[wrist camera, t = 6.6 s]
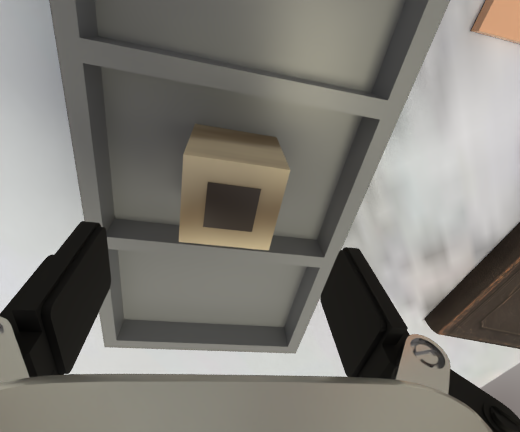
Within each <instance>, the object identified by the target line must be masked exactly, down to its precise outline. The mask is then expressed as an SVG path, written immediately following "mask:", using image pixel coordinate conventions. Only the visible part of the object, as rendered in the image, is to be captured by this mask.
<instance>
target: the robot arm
mask: <svg viewBox="0 0 520 432" xmlns="http://www.w3.org/2000/svg"><path fill="white" fill-rule="evenodd" d="M110 286H111V272H110V262H109V253H108V243H107V234H106V228H105V227H101V225H100V223H96V222H86V221H82V222H80V223H79V225H78V226H77V227H76V228H75V230H74V231H73V232H72V234H71V235H70V236H69V237H68V239H67V240H66V241H65V242H64V244H63V245H62V246H61V247H60V249H59V250H58V251H57V252H56V254H55V255H50V256H48V257H47V258H46V259H45V260H44V261H43V262H42V264H41V265H40V266H39V267H38V268H37V270H36V271H35V272H34V273H33V275H32V276H31V277H30V278H29V279H28V281H27V282H26V283H25V284H24V285H23V287H22V288H21V289H20V290H19V292H18V293H17V294H16V295H15V296H14V298H13V299H12V300H11V301H10V302H9V304H8V305H7V306H6V307H5V309H4V310H3V311H2V312H1V313H0V432H520V419H519V418H518V417H517V416H516V415H515V414H514V413H513V412H512V411H511V410H510V409H509V408H507V407H506V406H505V405H503V404H502V403H501V402H499V401H498V400H496V399H495V398H493V397H492V396H490V395H489V394H487V393H486V392H484V391H483V390H481V389H480V388H478V387H477V386H475V385H474V384H472V383H471V382H469V381H468V380H466V379H465V378H463V377H462V376H460V375H459V374H457V373H455V372H454V371H452V370H451V369H450V361H449V358H448V356H447V354H446V353H445V352H444V350H443V349H442V348H441V347H440V346H439V345H438V344H437V343H435V342H434V341H432V340H431V339H429V338H427V337H425V336H422V335H418V334H412V335H409V333H408V331H407V329H408V328H407V326H406V324H405V323H404V321H403V320H402V318H401V316H400V315H399V313H398V311H397V310H396V308H395V307H394V305H393V303H392V302H391V300H390V298H389V297H388V295H387V293H386V292H385V290H384V289H383V287H382V285H381V284H380V282H379V280H378V279H377V277H376V275H375V274H374V272H373V271H372V269H371V267H370V266H369V264H368V262H367V261H366V259H365V257H364V256H363V254H362V253H361V251H360V250H359V249H357V248H347V247H345V248H344V249H343V250H340V251H339V253H338V255H337V257H336V260H335V262H334V264H333V267H332V269H331V272H330V274H329V276H328V279H327V281H326V283H325V286H324V288H323V291H322V293H321V304H322V307H323V310H324V312H325V315H326V318H327V321H328V324H329V327H330V330H331V333H332V336H333V338H334V341H335V344H336V347H337V350H338V353H339V356H340V359H341V362H342V364H343V367H344V370H345V373H346V375H347V376H348V377H327V376H272V375H195V374H69V375H64V374H68V373H70V371H71V370H72V368H73V366H74V364H75V361H76V359H77V357H78V355H79V353H80V351H81V349H82V347H83V344H84V342H85V340H86V338H87V336H88V334H89V332H90V330H91V327H92V325H93V323H94V321H95V319H96V317H97V315H98V313H99V310H100V308H101V306H102V304H103V302H104V300H105V298H106V296H107V293H108V291H109V289H110Z"/></svg>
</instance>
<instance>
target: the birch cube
mask: <svg viewBox="0 0 520 432" xmlns="http://www.w3.org/2000/svg"><path fill="white" fill-rule="evenodd" d="M289 173H290V168H289V166H288V163H287V161H286V159H285V156H284V154H283V151H282V149H281V147H280V144H279V142H278V139H277V137H272V136H266V135H260V134H254V133H248V132H242V131H236V130H230V129H224V128H218V127H212V126H206V125H200V124H195V125H194V128H193V130H192V133H191V135H190V138H189V141H188V143H187V146H186V148H185V151H184V154H183V169H182V188H181V207H180V226H179V242H186V243H196V244H206V245H217V246H227V247H238V248H248V249H258V250H269V248H270V245H271V241H272V237H273V233H274V230H275V226H276V222H277V218H278V215H279V211H280V207H281V203H282V200H283V196H284V192H285V188H286V185H287V181H288V177H289Z"/></svg>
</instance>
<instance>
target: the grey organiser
mask: <svg viewBox="0 0 520 432" xmlns="http://www.w3.org/2000/svg"><path fill="white" fill-rule="evenodd" d="M49 2H50V8H51V14H52V20H53V27H54V33H55V39H56V45H57V52H58V58H59V64H60V70H61V77H62V83H63V89H64V95H65V102H66V108H67V114H68V120H69V127H70V133H71V139H72V145H73V152H74V158H75V164H76V170H77V177H78V183H79V189H80V195H81V202H82V208H83V214H84V220H85V221H86V222H96V223H100V225H101V227H105V228H106V234H107V243H108V253H109V262H110V272H111V286H110V289H109V291H108V293H107V296H106V298H105V300H104V302H103V304H102V306H101V308H100V310H99V314H100V321H101V327H102V333H103V339H104V346H105V347H117V348H147V349H178V350H208V351H238V352H269V353H296V351H297V349H298V347H299V344H300V342H301V340H302V337H303V335H304V333H305V331H306V328H307V326H308V324H309V321H310V319H311V317H312V315H313V312H314V310H315V308H316V305H317V303H318V301H319V299H320V296H321V293H322V291H323V288H324V286H325V283H326V281H327V279H328V276H329V274H330V272H331V269H332V267H333V264H334V262H335V260H336V257H337V255H338V253H339V251H340V250H341V248H342V246H343V244H344V242H345V239H346V237H347V235H348V232H349V230H350V228H351V226H352V223H353V221H354V219H355V216H356V214H357V212H358V210H359V207H360V205H361V203H362V200H363V198H364V196H365V194H366V191H367V189H368V187H369V184H370V182H371V180H372V178H373V175H374V173H375V171H376V168H377V166H378V164H379V162H380V159H381V157H382V155H383V153H384V150H385V148H386V146H387V143H388V141H389V139H390V137H391V134H392V132H393V130H394V127H395V125H396V123H397V121H398V118H399V116H400V114H401V111H402V109H403V107H404V105H405V102H406V100H407V98H408V95H409V93H410V91H411V89H412V86H413V84H414V82H415V79H416V77H417V75H418V73H419V70H420V68H421V66H422V63H423V61H424V59H425V57H426V54H427V52H428V50H429V48H430V45H431V43H432V41H433V38H434V36H435V34H436V32H437V29H438V27H439V25H440V22H441V20H442V18H443V16H444V13H445V11H446V9H447V6H448V4H449V2H450V0H49ZM195 124H200V125H206V126H212V127H218V128H224V129H230V130H236V131H242V132H248V133H254V134H260V135H266V136H272V137H277V139H278V142H279V144H280V147H281V149H282V151H283V154H284V156H285V159H286V161H287V163H288V166H289V168H290V173H289V177H288V181H287V185H286V188H285V192H284V196H283V200H282V203H281V207H280V211H279V215H278V218H277V222H276V226H275V230H274V233H273V237H272V241H271V245H270V248H269V250H258V249H248V248H238V247H227V246H217V245H206V244H196V243H186V242H179V226H180V207H181V188H182V169H183V154H184V151H185V148H186V146H187V143H188V141H189V138H190V135H191V133H192V130H193V128H194V125H195Z"/></svg>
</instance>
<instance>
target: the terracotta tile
mask: <svg viewBox="0 0 520 432" xmlns="http://www.w3.org/2000/svg"><path fill="white" fill-rule="evenodd" d="M471 31H472V32H476V33H480V34H484V35H487V36H491V37H495V38H499V39H503V40H506V41H510V42H514V43H518V44H520V0H486V1H485V3H484V5H483V7H482V9H481V11H480V13H479V15H478V17H477V19H476V22H475V24H474V26H473V28H472V30H471Z"/></svg>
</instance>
